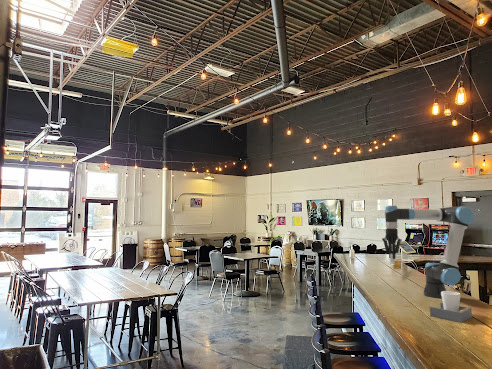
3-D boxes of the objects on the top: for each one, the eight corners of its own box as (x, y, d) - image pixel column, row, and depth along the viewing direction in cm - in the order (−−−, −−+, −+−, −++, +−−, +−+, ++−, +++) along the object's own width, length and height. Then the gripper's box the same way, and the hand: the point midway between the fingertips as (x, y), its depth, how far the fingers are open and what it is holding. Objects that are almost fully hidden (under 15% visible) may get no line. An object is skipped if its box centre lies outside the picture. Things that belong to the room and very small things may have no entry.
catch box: (441, 311, 214) (441, 301, 214) (471, 317, 202) (471, 306, 202) (430, 316, 203) (429, 305, 204) (461, 322, 191) (461, 311, 192)
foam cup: (452, 319, 197) (451, 295, 199) (438, 314, 206) (437, 291, 207) (465, 317, 201) (464, 293, 202) (450, 313, 209) (449, 290, 210)
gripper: (379, 228, 247) (380, 263, 245) (398, 228, 237) (399, 265, 235) (385, 227, 251) (386, 262, 249) (403, 228, 242) (404, 264, 240)
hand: (392, 263), depth 242 cm, fingers closed
